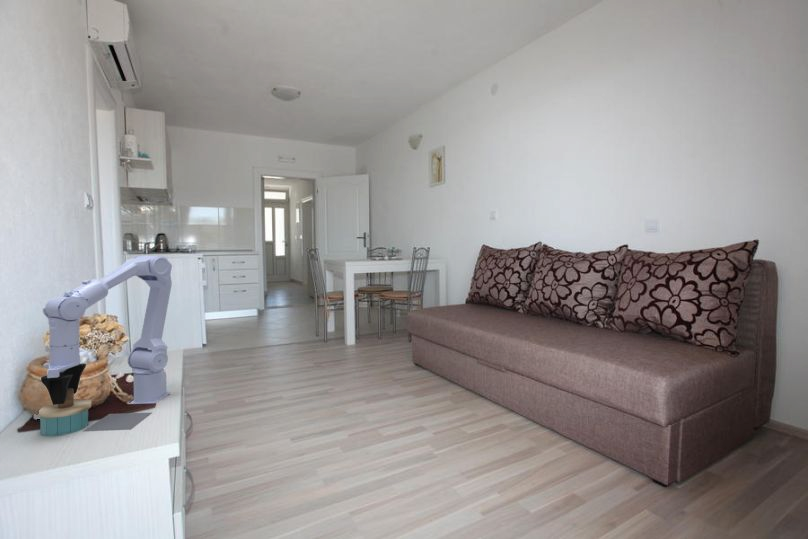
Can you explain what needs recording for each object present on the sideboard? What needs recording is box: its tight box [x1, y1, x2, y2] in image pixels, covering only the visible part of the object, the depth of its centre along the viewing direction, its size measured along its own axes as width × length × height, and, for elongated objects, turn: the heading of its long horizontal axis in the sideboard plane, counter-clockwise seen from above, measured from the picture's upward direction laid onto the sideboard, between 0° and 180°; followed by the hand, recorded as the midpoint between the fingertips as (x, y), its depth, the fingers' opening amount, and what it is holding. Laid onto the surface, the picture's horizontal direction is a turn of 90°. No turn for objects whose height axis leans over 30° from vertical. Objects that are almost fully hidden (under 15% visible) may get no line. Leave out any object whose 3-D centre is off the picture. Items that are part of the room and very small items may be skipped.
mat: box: [83, 412, 153, 432], centre depth 104 cm, size 11×11×1 cm
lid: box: [39, 388, 92, 418], centre depth 99 cm, size 10×10×5 cm
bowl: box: [39, 409, 89, 437], centre depth 100 cm, size 9×9×5 cm
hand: (65, 398), depth 99 cm, fingers open, 7 cm apart
